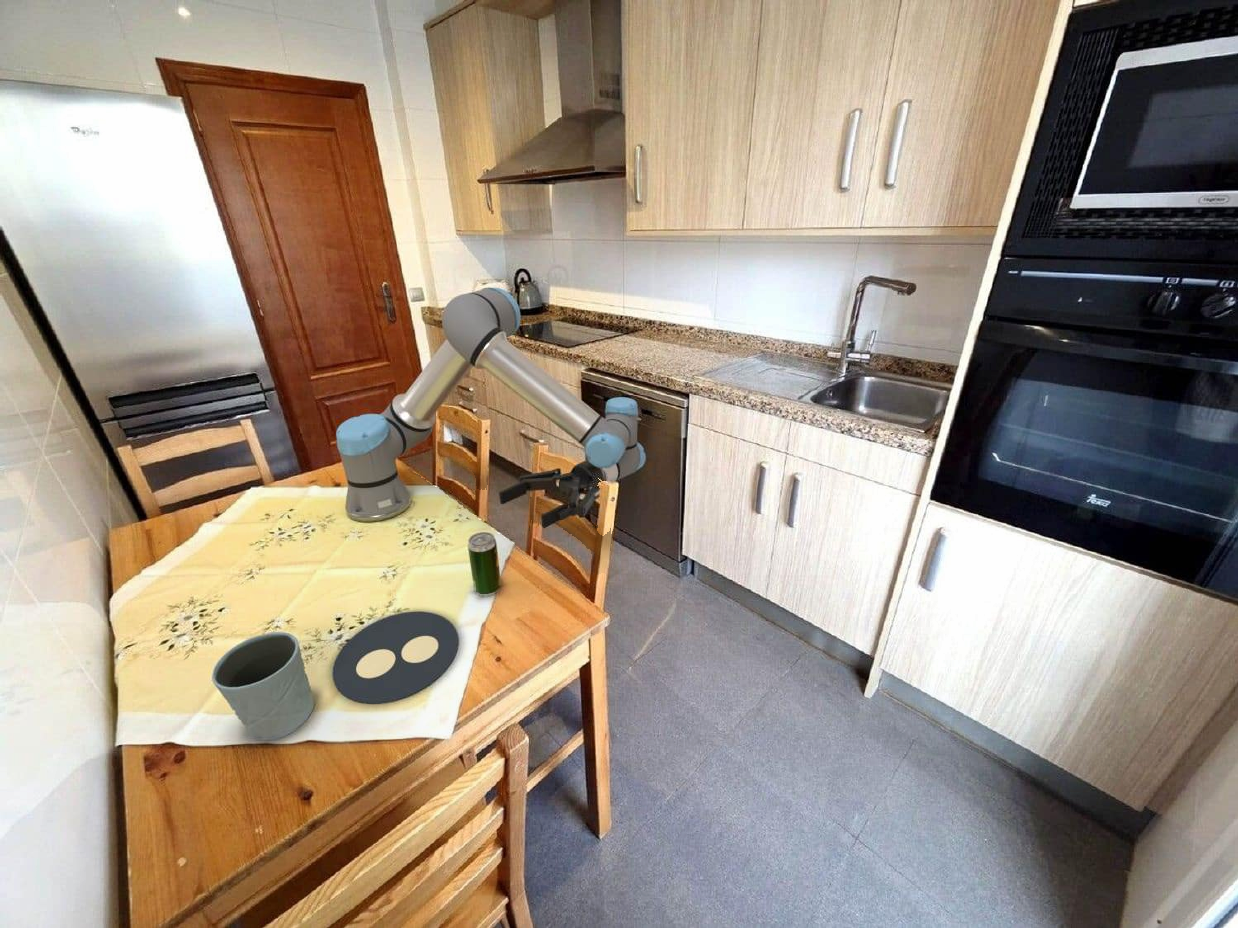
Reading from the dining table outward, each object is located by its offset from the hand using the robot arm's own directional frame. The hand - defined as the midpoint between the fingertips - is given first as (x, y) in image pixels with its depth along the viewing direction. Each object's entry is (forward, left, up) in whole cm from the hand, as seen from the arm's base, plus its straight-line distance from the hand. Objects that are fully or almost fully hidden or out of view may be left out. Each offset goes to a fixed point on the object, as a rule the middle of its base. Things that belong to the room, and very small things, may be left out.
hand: (520, 509), depth 102 cm
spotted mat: (+14, -27, -14) cm, 33 cm away
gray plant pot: (+19, -44, -14) cm, 50 cm away
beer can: (+4, -9, -14) cm, 18 cm away
